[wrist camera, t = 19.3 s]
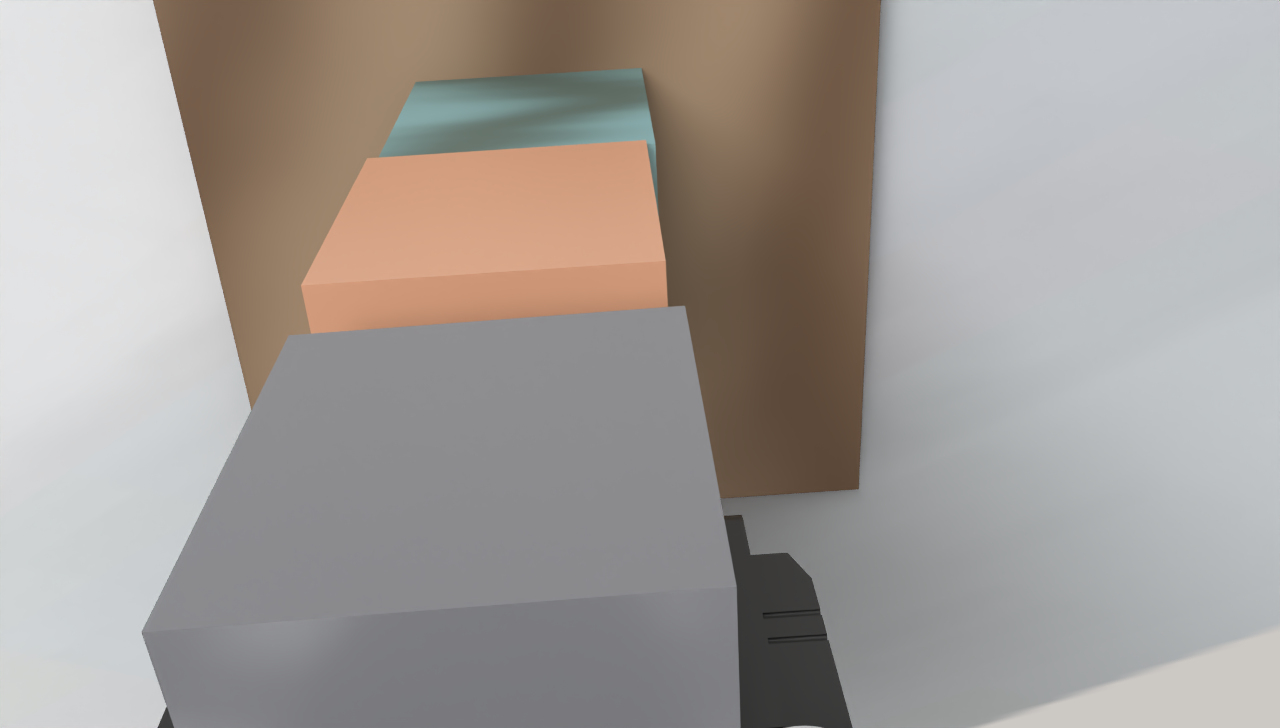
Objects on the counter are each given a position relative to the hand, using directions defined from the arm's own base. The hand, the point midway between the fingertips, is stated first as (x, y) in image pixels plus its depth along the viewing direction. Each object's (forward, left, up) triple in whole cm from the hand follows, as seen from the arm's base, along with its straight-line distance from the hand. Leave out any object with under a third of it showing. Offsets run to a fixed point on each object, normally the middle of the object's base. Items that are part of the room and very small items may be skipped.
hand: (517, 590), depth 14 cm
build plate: (0, 0, -13) cm, 13 cm away
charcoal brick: (0, 0, 0) cm, 0 cm away
